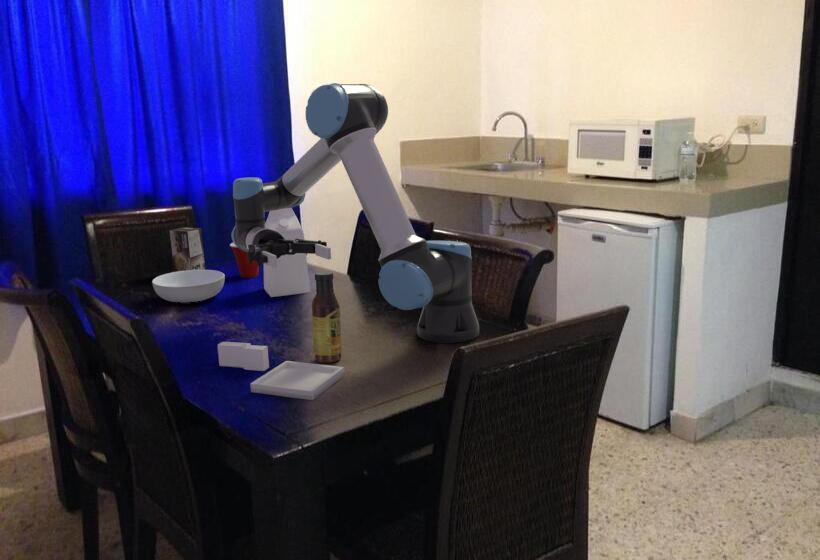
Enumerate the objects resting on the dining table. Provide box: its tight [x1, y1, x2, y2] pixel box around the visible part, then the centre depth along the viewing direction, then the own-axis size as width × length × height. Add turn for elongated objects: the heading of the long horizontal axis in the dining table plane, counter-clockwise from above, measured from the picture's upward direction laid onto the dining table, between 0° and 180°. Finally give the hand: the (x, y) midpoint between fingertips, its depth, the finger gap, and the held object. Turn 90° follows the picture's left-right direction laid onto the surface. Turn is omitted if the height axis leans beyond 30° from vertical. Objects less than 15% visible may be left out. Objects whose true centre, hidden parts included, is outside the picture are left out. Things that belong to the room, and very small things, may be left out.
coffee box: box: [169, 227, 206, 272], centre depth 252 cm, size 9×6×16 cm
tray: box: [250, 360, 346, 401], centre depth 152 cm, size 14×14×2 cm
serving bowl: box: [151, 269, 226, 304], centre depth 221 cm, size 21×21×7 cm
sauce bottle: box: [311, 270, 343, 364], centre depth 164 cm, size 6×6×20 cm
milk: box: [263, 207, 311, 298], centre depth 226 cm, size 12×12×26 cm
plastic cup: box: [229, 242, 260, 279], centre depth 249 cm, size 11×11×12 cm
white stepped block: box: [217, 341, 270, 372], centre depth 162 cm, size 15×11×6 cm
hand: (302, 257), depth 169 cm, fingers open, 13 cm apart
